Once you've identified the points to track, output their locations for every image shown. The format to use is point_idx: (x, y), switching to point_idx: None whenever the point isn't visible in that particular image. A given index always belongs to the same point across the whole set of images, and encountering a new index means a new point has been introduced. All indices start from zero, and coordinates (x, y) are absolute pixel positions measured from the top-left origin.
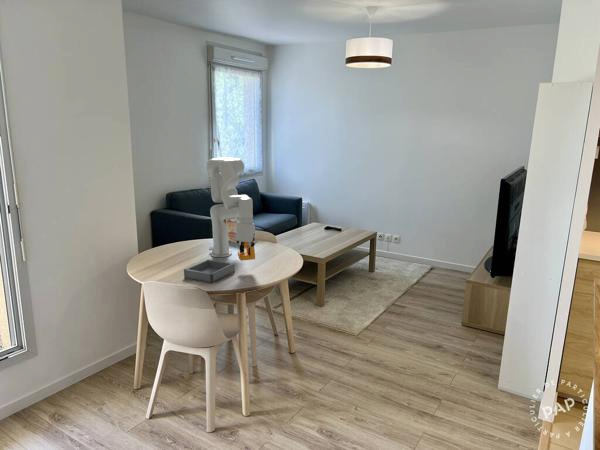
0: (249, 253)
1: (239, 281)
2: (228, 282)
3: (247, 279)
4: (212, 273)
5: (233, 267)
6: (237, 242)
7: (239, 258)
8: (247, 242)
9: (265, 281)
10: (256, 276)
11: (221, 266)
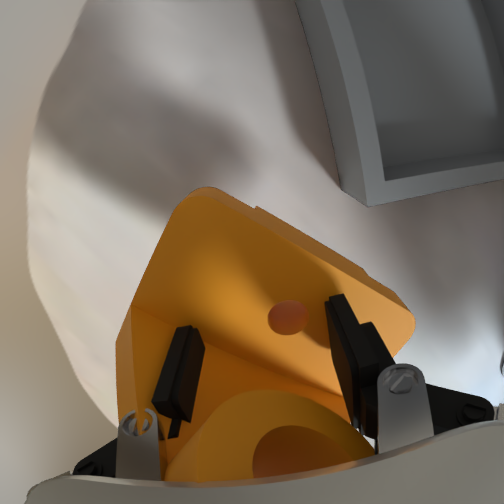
0: (173, 336)
1: (148, 72)
2: (198, 7)
3: (135, 141)
4: None
5: (353, 184)
6: (469, 399)
7: (321, 244)
8: (121, 479)
9: (34, 205)
10: (138, 232)
11: (452, 160)
